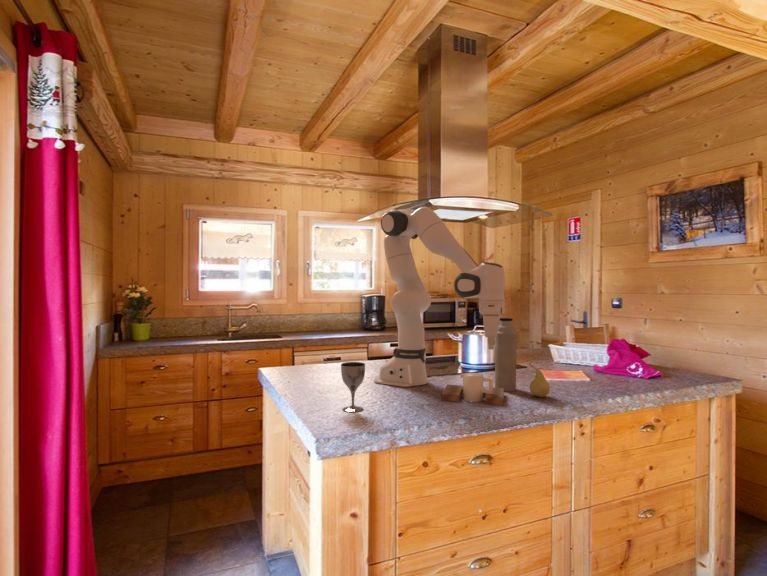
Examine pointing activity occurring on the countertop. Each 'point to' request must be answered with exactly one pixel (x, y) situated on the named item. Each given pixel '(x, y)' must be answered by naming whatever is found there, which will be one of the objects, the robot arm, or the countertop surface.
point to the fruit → (539, 384)
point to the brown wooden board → (457, 390)
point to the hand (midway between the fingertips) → (491, 347)
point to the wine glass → (353, 381)
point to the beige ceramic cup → (475, 386)
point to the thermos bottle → (505, 355)
